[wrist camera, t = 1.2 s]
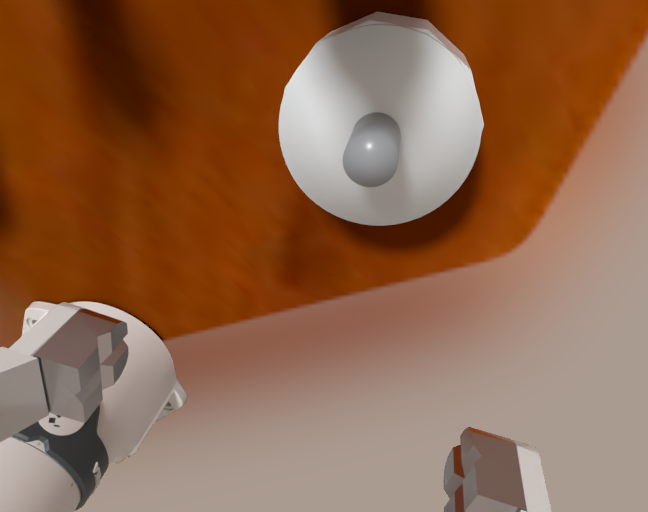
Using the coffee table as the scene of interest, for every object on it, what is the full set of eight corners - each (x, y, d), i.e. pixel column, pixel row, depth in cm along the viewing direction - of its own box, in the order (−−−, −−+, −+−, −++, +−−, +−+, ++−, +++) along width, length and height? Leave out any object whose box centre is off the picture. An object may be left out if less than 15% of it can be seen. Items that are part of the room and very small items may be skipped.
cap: (389, 217, 36) (380, 293, 28) (268, 119, 34) (219, 170, 25) (511, 99, 30) (544, 150, 22) (374, -31, 28) (354, -27, 20)
